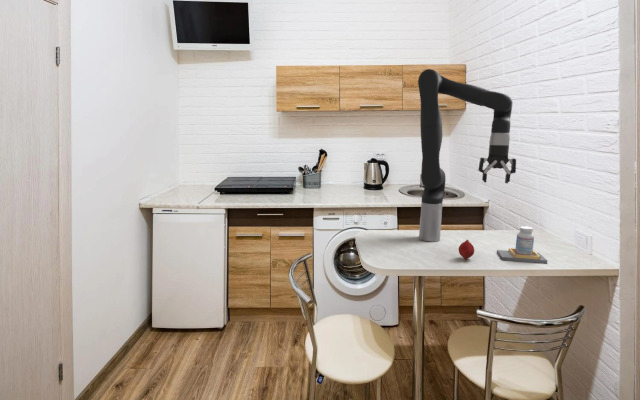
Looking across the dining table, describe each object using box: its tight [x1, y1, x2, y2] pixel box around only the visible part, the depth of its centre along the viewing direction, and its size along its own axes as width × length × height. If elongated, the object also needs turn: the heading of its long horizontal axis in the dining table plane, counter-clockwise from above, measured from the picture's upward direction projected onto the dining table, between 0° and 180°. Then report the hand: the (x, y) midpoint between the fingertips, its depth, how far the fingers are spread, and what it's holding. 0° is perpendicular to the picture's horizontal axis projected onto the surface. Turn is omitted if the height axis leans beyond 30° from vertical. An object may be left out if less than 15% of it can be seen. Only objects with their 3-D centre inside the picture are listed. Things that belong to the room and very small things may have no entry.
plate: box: [496, 247, 548, 264], centre depth 159 cm, size 16×10×2 cm, turn 79°
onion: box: [458, 239, 475, 260], centre depth 156 cm, size 6×6×8 cm
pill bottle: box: [514, 225, 535, 256], centre depth 158 cm, size 6×6×11 cm
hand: (495, 182), depth 169 cm, fingers open, 8 cm apart
